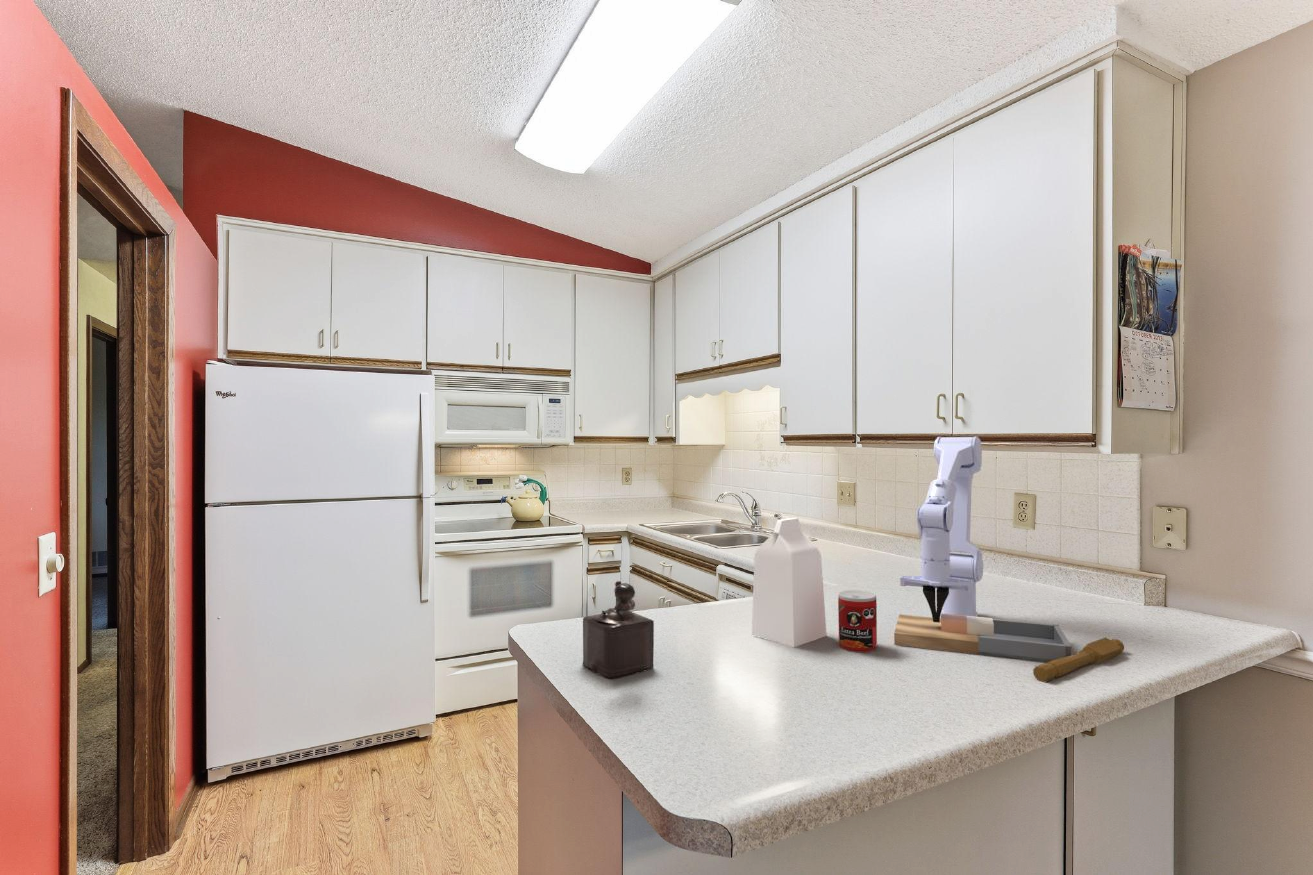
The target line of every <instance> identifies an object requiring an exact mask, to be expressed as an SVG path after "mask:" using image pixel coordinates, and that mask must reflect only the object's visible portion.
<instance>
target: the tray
mask: <svg viewBox="0 0 1313 875" xmlns="http://www.w3.org/2000/svg"><path fill="white" fill-rule="evenodd" d="M992 619H993V623H994V636H985V635H978V642H979V654H978V656H979V655H981V656H990V657H996V658H997V657H999V658H1005V659H1006V658H1007V659H1016V660H1023V661H1031V662H1032V661H1033V662H1040V663H1041V662H1042V663H1047V662H1050V661H1053V660H1056V659H1060V658H1063V657H1067V656H1071V655H1073V646H1072V645H1071V643H1070V642H1069V640H1068V638H1067V637H1066V635H1065V634H1064V632H1063V630H1062V628H1061V627H1060V625H1059V624H1052V623H1043V622H1033V621H1032V622H1030V621H1021V620H1019V621H1018V620H1010V619H998V618H992Z"/></svg>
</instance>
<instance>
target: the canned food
mask: <svg viewBox="0 0 1313 875" xmlns="http://www.w3.org/2000/svg"><path fill="white" fill-rule="evenodd" d="M837 597H838V598H837V604H838V610H837V611H838V644H839V646H840V647H841V648H842V649H843V650H846V651H850V652H858V653H865V652H871V651H872V652H873V651H874V650H875V649H876V648H877V644H878V638H877V637H878V636H877V635H878V634H877V633H878V632H877V631H878V626H877V624H878V622H877V611H878V610H877V609H878V608H877V606H878V605H877V594H875V593H874V592H872V591H871V592H870V591H866V590H859V589H849V590H842V591H839V592H838V596H837Z"/></svg>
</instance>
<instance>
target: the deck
mask: <svg viewBox="0 0 1313 875" xmlns="http://www.w3.org/2000/svg"><path fill="white" fill-rule="evenodd" d="M893 634H894V636H893V637H894V640H893V641H894V645H895V646H902V647H911V648H920V649H930V650H936V651H947V652H953V653H954V652H955V653H963V654H970V655H971V654H973V655H979V642H978V635H977V634H968V633H967V634H966V633H957V632H948V631H941V617H940V623H938V622H933V618H932V616H931V617H929V616H920V615H910V614H898V618H897V621H896V626H895V629H894V633H893Z"/></svg>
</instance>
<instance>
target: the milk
mask: <svg viewBox="0 0 1313 875" xmlns="http://www.w3.org/2000/svg"><path fill="white" fill-rule="evenodd" d="M753 561H754V564H753V585H752V586H753V590H752V592H753V593H752V618H751V620H752V621H751V636H752V635H756V636H760V637H763V638H767V639H769V640H773V641H775V642H774V643H776V642H779V643H778V644H780V643H781V644H780V645H783V644H784V646H787V645H788V646H787V647H791V648H796V647H799V646H802V645H804V644H807V643H811V642H813V641H816V640H819V639H821V638H824V637H827V633H828V632H827V620H826V608H825V607H826V606H825V605H826V604H825V593H824V580H823V579H824V578H823V566H822V565H823V563H822V555H821V551H820V550H819V548H818V547H817V546H816V544H814V542H813V541H812V540H811V538H809V537H808V536H807V535H806V534H805V532H804V531H802V529H801V524H800V520H799V518H798V517H791V518H784V519H778V520H776V523H775V526H774V530H773V533H772V534H771V535H770V536H769V537H767V539H766V540H765V541H764V542H763V543H762V544H761V545H760V546H759V547H758V548H757V549H756V551H755V553H754V560H753ZM769 640H768V641H769ZM773 641H772V642H773Z"/></svg>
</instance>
